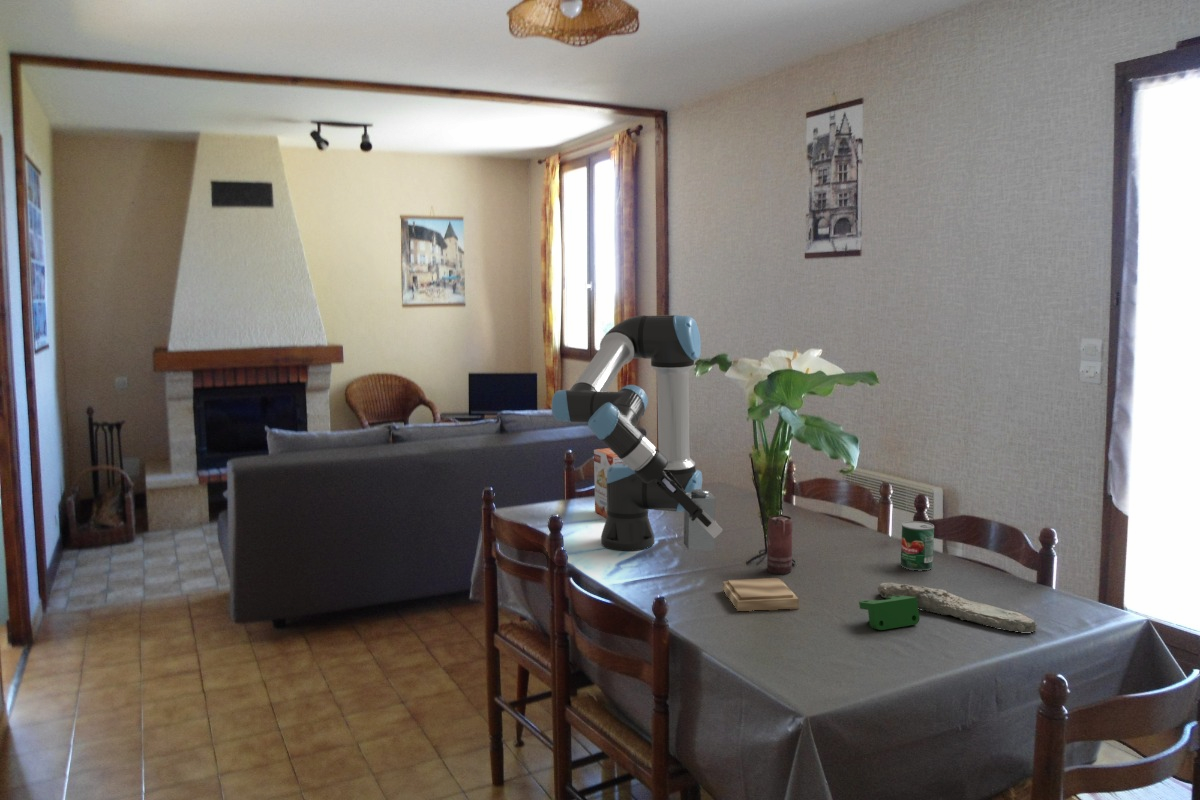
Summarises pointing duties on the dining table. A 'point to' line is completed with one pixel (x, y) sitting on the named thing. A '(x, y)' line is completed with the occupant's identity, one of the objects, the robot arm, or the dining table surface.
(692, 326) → the robot arm
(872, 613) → the green plastic block
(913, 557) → the canned tomato
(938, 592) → the elongated rock
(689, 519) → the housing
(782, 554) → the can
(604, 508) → the cracker box
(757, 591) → the stand
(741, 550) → the dining table surface
